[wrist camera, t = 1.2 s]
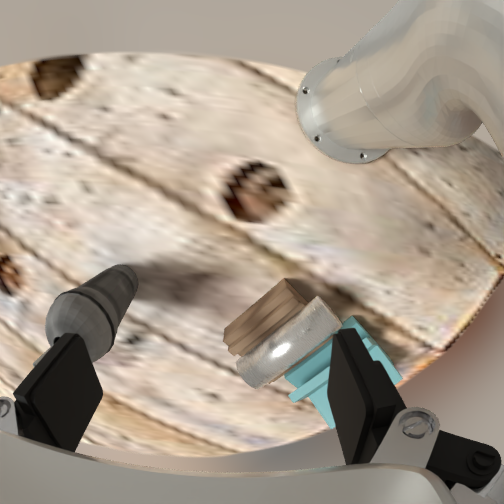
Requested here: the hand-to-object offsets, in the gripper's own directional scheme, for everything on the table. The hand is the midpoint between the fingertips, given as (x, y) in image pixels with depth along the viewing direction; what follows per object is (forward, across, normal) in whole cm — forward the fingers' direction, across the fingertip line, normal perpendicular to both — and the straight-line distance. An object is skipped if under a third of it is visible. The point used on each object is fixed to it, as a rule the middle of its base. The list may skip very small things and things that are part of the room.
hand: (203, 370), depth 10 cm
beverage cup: (+26, +15, +7) cm, 30 cm away
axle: (+23, -5, +13) cm, 27 cm away
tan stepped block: (+26, -4, +14) cm, 29 cm away
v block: (+26, -13, +21) cm, 36 cm away
